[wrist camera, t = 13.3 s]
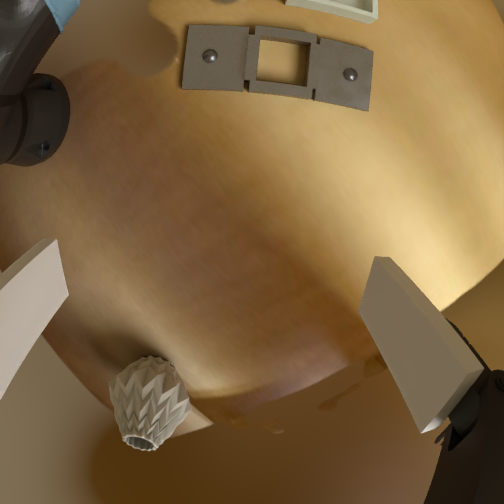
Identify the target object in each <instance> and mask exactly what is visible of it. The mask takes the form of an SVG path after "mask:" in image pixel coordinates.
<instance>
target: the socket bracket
mask: <svg viewBox="0 0 504 504" xmlns="http://www.w3.org/2000/svg"><path fill="white" fill-rule="evenodd" d="M260 39H261V40H270V41H278V42H285V43H292V44H298V45H304V46H307V57H306V68H305V79H304V87H303V86H297V85H290V84H283V83H275V82H267V81H257V80H256V75H257V65H258V56H259V46H260ZM372 67H373V51H371V50H368V49H364V48H361V47H357V46H354V45H350V44H346V43H343V42H339V41H334V40H330V39H326V38H319V42H318V44H317V34H312V33H307V32H302V31H296V30H290V29H283V28H276V27H267V26H258V25H256V26H255V32H254V35H251V34H249V27H243V26H226V25H189V30H188V37H187V45H186V53H185V61H184V71H183V81H182V89H183V90H221V91H238V92H243V85H244V82H249V91H248V92H251V93H262V94H271V95H279V96H287V97H294V98H301V99H307V100H308V99H311V98H312V90H314V97H313V101H319V102H325V103H330V104H335V105H340V106H345V107H349V108H354V109H358V110H362V111H369V102H370V92H371V80H372Z"/></svg>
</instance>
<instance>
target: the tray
mask: <svg viewBox="0 0 504 504" xmlns="http://www.w3.org/2000/svg"><path fill="white" fill-rule="evenodd" d="M285 5H289V6H295V7H301V8H306V9H311V10H316V11H321V12H325V13H330V14H334V15H338V16H341V17H345V18H349V19H352V20H356V21H359V22H362V23H366V24H370V23H372V22H374V21H375V20H377V19H378V0H285Z"/></svg>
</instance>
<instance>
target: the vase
mask: <svg viewBox="0 0 504 504" xmlns="http://www.w3.org/2000/svg"><path fill="white" fill-rule="evenodd" d="M109 391H110V399H111V402H112V404H113V406H114V410H115V420H116V422H117V423H118V425H119V431H120V432H121V433H122V437H123V441H125V442H126V443H127V445H131V446H132V447H133V448H139V449H140V450H147V451H150V450H156V448H158V446H159V445H160V444H162V443H163V442H164V440H165V439H167V438H169V437H170V436H171V435H172V433H173V432H174V430H175V428H176V426H177V425H178V424H180V423H182V421H183V420H184V419H185V417H186V416H187V415H188V413H189V412H190V411H191V405H190V402H189V396H188V394H187V392H186V389H185V386H184V383H183V381H182V379H181V378H180V376H179V374H178V373H177V371H176V370H175V368H174V367H172V366H171V365H170V362H169V361H164V360H163V359H162V358H161V357H156V358H154V357H153V356H151V355H149V356H148V357H147V358H145V357H141V358H140V359H139V360H137V361H135V362H133V363H131V364H129V365H128V366H127V367H126V368H125V369H124V370H123V371H121V372H119V373H118V374H117V375H116V376H115V377H114V378H113V379H112V380H111V381H110V382H109Z"/></svg>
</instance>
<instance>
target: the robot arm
mask: <svg viewBox="0 0 504 504" xmlns="http://www.w3.org/2000/svg"><path fill="white" fill-rule="evenodd" d="M80 2H81V0H0V165H1V164H4V163H7V164H12V165H17V166H24V167H25V166H32V165H35V164H38V163H41V162H43V161H45V160H47V159H48V158H50V157H51V156H52V155H53V154H54V153H55V152H56V150H57V149H58V148H59V146H60V145H61V143H62V141H63V139H64V137H65V134H66V131H67V128H68V124H69V117H70V104H69V98H68V94H67V91H66V89H65V87H64V85H63V84H62V83H61V81H60V80H59V79H57V78H56V77H54V76H52V75H49V74H42V73H41V74H40V73H36V74H33V72H34V70H35V69H36V67H37V66H38V64H39V63H40V61H41V59H42V58H43V57H44V55H45V54H46V52H47V51H48V49H49V48H50V46H51V45H52V43H53V42H54V41H55V39H56V38H57V37H58V35H59V34H61V33H62V32H63V29H64V27H65V25H66V24H67V22H68V21H69V19H70V18H71V17H72V16H73V14H74V13H75V12H76V10H77V9H78V7H79V5H80ZM68 295H69V294H68V290H67V286H66V282H65V278H64V273H63V269H62V264H61V259H60V254H59V249H58V243H57V239H50V238H43V239H42V240H41V241H39V242H38V243H37V244H36V245H34V246H33V247H32V248H31V249H30V250H28V251H27V252H26V253H25V254H24V255H22V256H21V257H20V258H19V259H18V260H17V261H15V262H14V263H13V264H12V265H11V266H10V267H9V268H7V269H6V270H5V271H4V272H3V273H2V274H1V275H0V400H1V398H2V396H3V394H4V392H5V390H6V389H7V387H8V385H9V383H10V382H11V380H12V378H13V377H14V375H15V373H16V371H17V370H18V368H19V367H20V365H21V363H22V362H23V360H24V358H25V357H26V355H27V354H28V352H29V350H30V349H31V347H32V346H33V344H34V343H35V341H36V340H37V338H38V337H39V335H40V334H41V333H42V331H43V330H44V328H45V327H46V325H47V324H48V322H49V321H50V320H51V318H52V317H53V315H54V314H55V313H56V311H57V310H58V309H59V307H60V306H61V305H62V303H63V302H64V301H65V299H66V298H67V297H68ZM358 312H359V314H360V316H361V318H362V320H363V321H364V323H365V325H366V327H367V329H368V330H369V332H370V334H371V336H372V338H373V340H374V341H375V343H376V345H377V347H378V349H379V351H380V353H381V354H382V356H383V358H384V360H385V362H386V364H387V366H388V368H389V370H390V371H391V374H392V375H393V377H394V379H395V381H396V383H397V385H398V387H399V389H400V391H401V393H402V395H403V397H404V400H405V402H406V404H407V406H408V408H409V410H410V412H411V414H412V416H413V418H414V420H415V422H416V425H417V427H418V429H419V431H420V433H423V432H426V431H429V430H432V429H435V428H438V427H439V426H440V425H441V424H442V422H443V421H444V420H445V419H446V418H447V417H449V419H450V421H451V423H450V424H449V425H448V427H447V428H446V429H445V430H444V431H443V432H442V433H441V434H440V435H439V436H438V437H437V438H436V440H435V442H434V443H438V442H439V441H440V440H441V439H442V438H443V437H444V441H443V442H442V443H441V445H442V449H441V452H440V456H439V460H438V463H437V466H436V470H435V473H434V476H433V479H432V482H431V485H430V488H429V491H428V493H427V496H426V499H425V501H424V504H504V371H502V370H493V371H491V370H490V369H489V368H488V366H487V365H486V363H485V362H484V361H483V359H482V358H481V357H480V356H479V354H478V353H477V352H476V350H475V349H474V348H473V347H472V345H471V344H469V342H468V340H467V339H466V338H465V337H463V334H462V333H461V332H460V331H459V329H458V328H457V327H456V326H455V325H454V324H453V323H452V322H450V321H449V320H447V319H446V318H445V317H443V315H442V314H441V313H440V312H439V310H438V309H437V308H436V307H435V306H434V305H433V304H432V302H431V301H430V300H429V299H428V298H427V297H426V296H425V294H424V293H423V292H422V291H421V290H420V289H419V288H418V287H417V286H416V284H415V283H414V282H413V281H412V280H411V279H410V278H409V277H408V276H407V275H406V274H405V273H404V272H403V270H402V269H401V268H400V267H399V266H398V265H397V264H396V263H395V262H394V261H393V260H392V259H391V258H390V257H378V256H375V257H374V260H373V264H372V267H371V271H370V274H369V278H368V281H367V284H366V288H365V291H364V294H363V297H362V300H361V303H360V307H359V310H358Z"/></svg>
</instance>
